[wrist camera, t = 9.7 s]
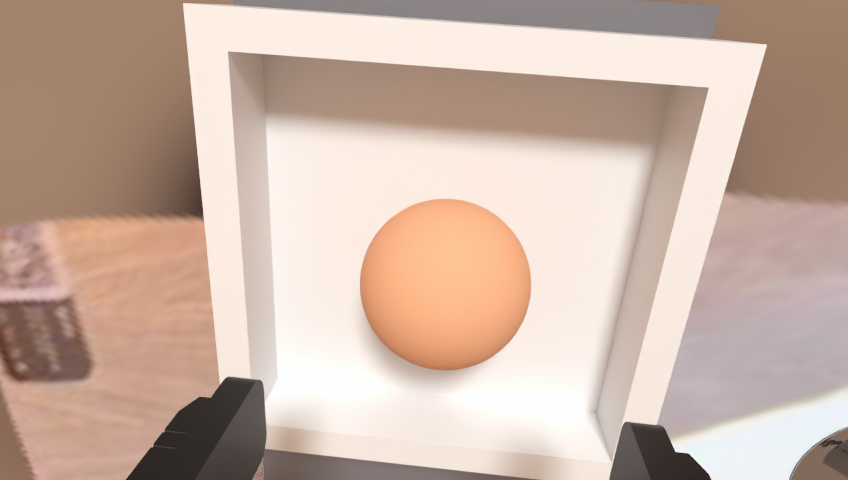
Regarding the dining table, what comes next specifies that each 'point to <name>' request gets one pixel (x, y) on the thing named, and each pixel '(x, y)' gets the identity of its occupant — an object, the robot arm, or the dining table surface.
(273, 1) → the mat
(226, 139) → the tray
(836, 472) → the wine glass
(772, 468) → the dining table surface
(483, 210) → the ball
